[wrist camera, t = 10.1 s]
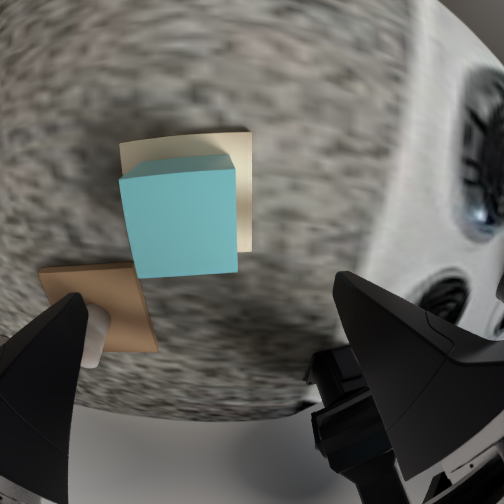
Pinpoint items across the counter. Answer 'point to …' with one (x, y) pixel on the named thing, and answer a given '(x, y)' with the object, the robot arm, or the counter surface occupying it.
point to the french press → (500, 290)
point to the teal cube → (181, 216)
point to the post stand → (105, 307)
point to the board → (204, 145)
